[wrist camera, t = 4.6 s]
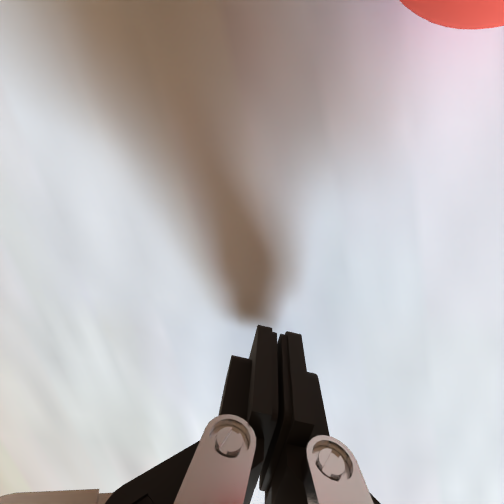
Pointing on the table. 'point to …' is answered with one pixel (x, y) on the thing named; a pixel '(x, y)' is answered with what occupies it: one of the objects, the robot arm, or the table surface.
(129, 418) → the table surface
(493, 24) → the ball
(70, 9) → the table surface
